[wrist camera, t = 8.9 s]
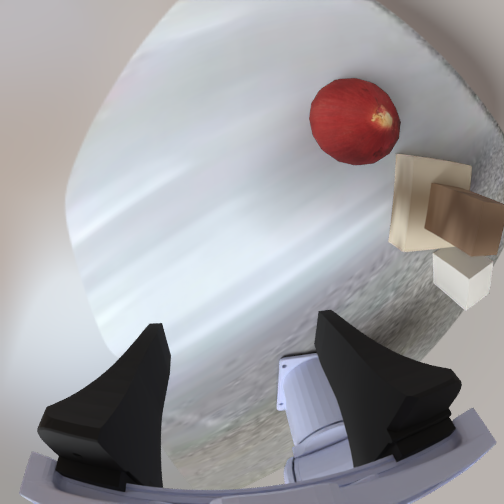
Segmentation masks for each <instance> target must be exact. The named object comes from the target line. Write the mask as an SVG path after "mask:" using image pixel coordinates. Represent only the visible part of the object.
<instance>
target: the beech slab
mask: <svg viewBox="0 0 504 504" xmlns="http://www.w3.org/2000/svg"><path fill="white" fill-rule="evenodd" d="M471 172H472V166H469V165H465V164H461V163H457V162H452V161H446V160H440V159H434V158H427V157H420V156H413V155H405V154H396V162H395V182H394V196H393V207H392V217H391V225H390V233H389V241H388V242H390V243H391V244H393V245H394V246H395V247H397V248H398V249H400V250H401V251H402V252H410V251H420V250H429V249H439V248H448V247H455V246H453V245H452V244H450V243H448V242H447V241H445V240H443V239H442V238H440V237H438V236H437V235H435V234H433V233H431V232H430V231H428V230H426V229H424V226H425V221H426V215H427V209H428V203H429V196H430V189H431V182H432V183H438V184H444V185H450V186H455V187H460V188H463V189H466V190H469V191H470V184H471Z"/></svg>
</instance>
